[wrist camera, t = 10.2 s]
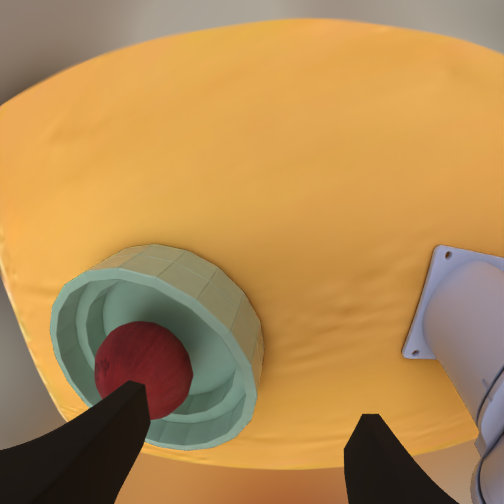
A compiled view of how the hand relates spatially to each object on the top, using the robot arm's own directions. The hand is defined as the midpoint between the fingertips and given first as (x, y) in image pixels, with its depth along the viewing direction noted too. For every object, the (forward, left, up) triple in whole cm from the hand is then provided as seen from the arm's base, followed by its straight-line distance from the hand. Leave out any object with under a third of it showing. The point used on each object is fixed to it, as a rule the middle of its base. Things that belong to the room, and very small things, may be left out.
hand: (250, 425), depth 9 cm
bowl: (+6, +4, -10) cm, 12 cm away
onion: (+7, +4, -10) cm, 12 cm away
